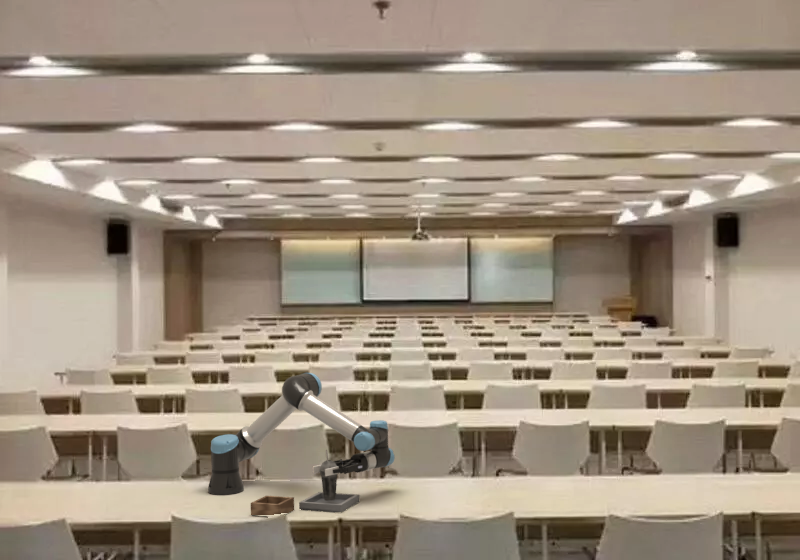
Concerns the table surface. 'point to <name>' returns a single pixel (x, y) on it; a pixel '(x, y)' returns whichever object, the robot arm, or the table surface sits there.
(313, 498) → the tray
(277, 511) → the brown wooden box
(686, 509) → the table surface
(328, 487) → the beverage cup
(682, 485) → the table surface
